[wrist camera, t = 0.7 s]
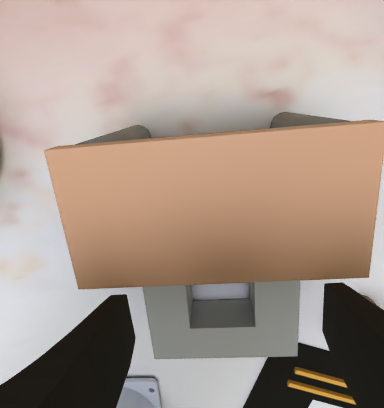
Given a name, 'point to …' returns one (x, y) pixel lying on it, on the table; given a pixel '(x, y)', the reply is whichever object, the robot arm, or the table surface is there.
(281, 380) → the sushi
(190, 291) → the socket plate
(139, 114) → the table surface
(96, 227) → the raised peach slab
